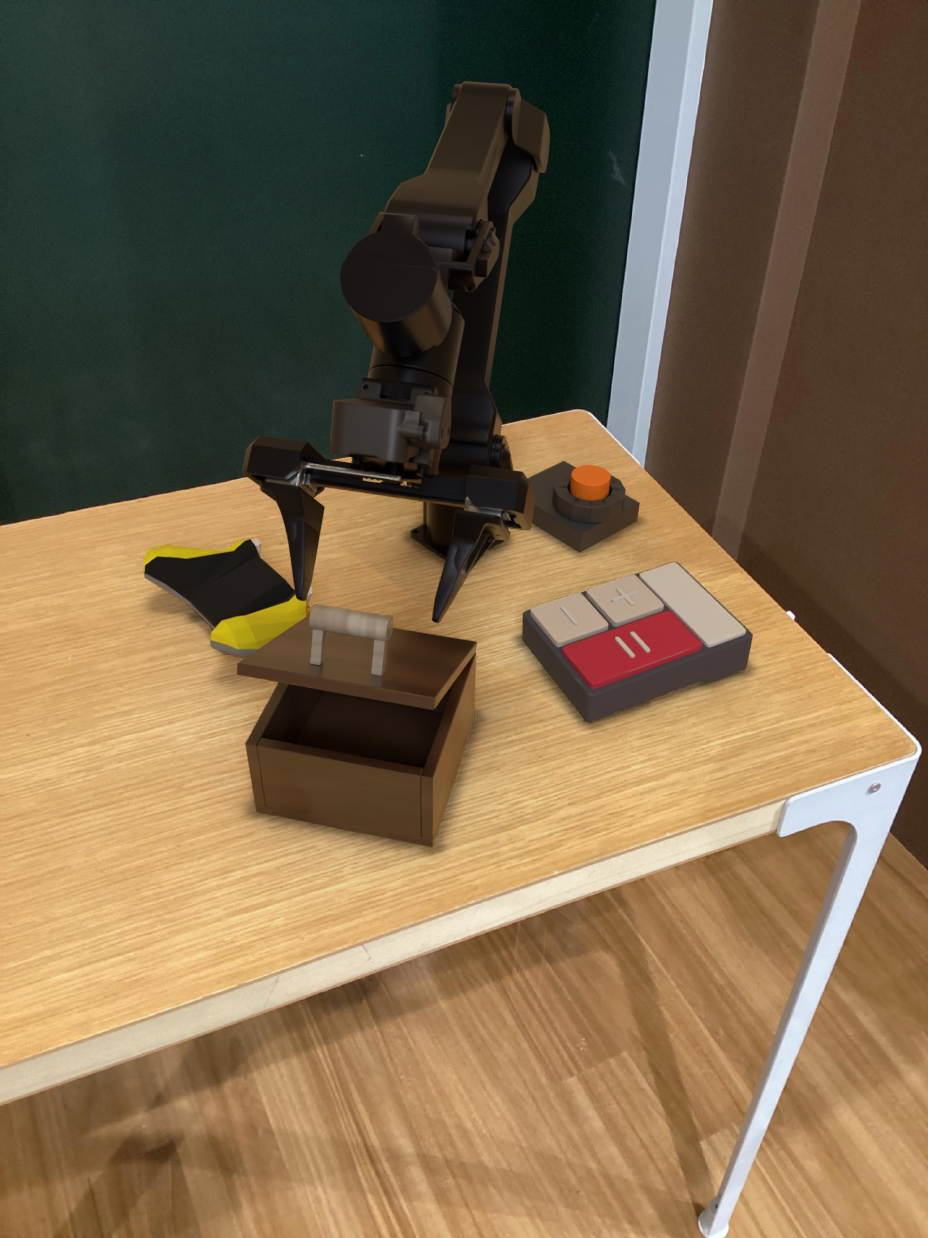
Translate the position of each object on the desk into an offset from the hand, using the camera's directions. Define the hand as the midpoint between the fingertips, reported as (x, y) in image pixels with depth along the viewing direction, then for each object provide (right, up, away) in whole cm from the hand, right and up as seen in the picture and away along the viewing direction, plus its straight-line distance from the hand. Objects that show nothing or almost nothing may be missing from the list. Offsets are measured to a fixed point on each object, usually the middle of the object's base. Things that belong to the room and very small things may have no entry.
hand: (367, 611), depth 70 cm
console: (+17, +10, +33) cm, 38 cm away
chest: (0, -11, +8) cm, 13 cm away
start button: (+18, +11, +30) cm, 36 cm away
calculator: (+20, -4, +18) cm, 27 cm away
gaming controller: (-13, -1, +20) cm, 24 cm away
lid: (0, -3, +2) cm, 4 cm away
